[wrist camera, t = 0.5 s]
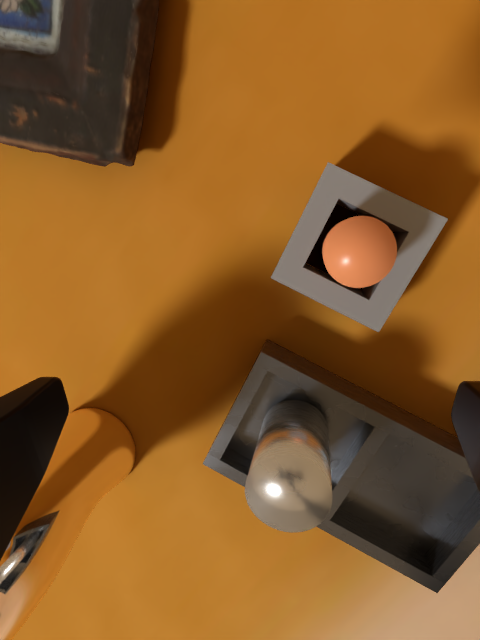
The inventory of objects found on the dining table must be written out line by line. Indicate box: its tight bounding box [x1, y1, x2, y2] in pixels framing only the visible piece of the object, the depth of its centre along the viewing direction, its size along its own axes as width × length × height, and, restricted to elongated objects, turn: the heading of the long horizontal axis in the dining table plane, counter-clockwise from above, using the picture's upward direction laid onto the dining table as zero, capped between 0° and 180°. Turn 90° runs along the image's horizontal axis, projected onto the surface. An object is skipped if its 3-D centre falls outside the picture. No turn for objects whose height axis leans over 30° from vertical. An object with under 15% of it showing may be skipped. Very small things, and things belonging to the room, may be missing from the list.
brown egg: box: [322, 216, 397, 288], centre depth 18 cm, size 3×3×4 cm
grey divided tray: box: [203, 340, 480, 593], centre depth 23 cm, size 15×8×3 cm, turn 65°
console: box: [271, 162, 448, 332], centre depth 20 cm, size 6×6×3 cm
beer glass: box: [0, 408, 136, 640], centre depth 21 cm, size 7×7×15 cm
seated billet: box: [245, 400, 332, 532], centre depth 21 cm, size 4×4×6 cm
